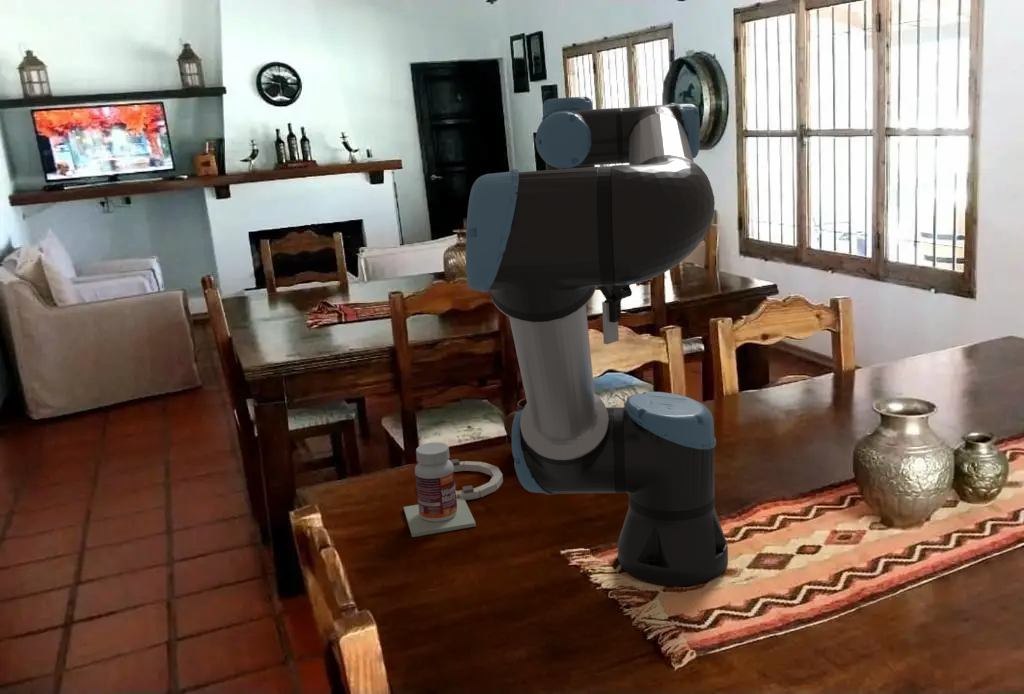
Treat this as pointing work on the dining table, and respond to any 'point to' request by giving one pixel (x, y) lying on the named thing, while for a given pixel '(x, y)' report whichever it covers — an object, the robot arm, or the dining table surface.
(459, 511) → the coaster
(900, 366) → the dining table surface
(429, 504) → the pill bottle
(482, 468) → the collar
